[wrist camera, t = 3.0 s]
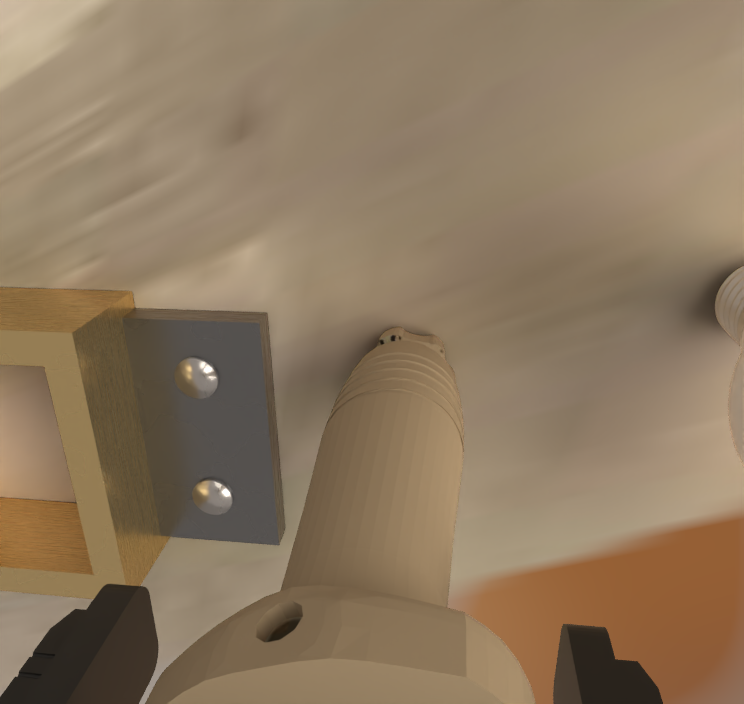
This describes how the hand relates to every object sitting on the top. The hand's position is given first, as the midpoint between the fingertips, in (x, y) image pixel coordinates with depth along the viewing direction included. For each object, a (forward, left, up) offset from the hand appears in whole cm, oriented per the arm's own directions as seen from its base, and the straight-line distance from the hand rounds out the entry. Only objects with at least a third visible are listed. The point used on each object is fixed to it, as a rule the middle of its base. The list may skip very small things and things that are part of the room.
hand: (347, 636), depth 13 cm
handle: (0, 0, -12) cm, 12 cm away
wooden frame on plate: (+3, -15, -12) cm, 19 cm away
